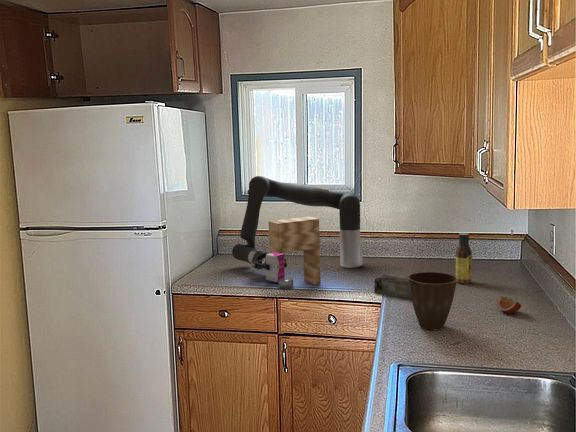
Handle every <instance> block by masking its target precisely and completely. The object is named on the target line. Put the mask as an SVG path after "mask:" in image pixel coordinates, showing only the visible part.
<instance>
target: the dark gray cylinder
mask: <svg viewBox="0 0 576 432" xmlns="http://www.w3.org/2000/svg"><path fill="white" fill-rule="evenodd" d="M278 288H279V289H282V290H288V289H289V290H290V289H293V288H294V279H293V278H290V277H285V278H282V279H279V282H278Z"/></svg>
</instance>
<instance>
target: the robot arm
mask: <svg viewBox="0 0 576 432" xmlns="http://www.w3.org/2000/svg"><path fill="white" fill-rule="evenodd" d="M265 197H270V198H279V199H282V200H284V201H287V202H290V203H293V204H297V205H302V206H308V207H326V208H331V209H336V210H339V245H340V246H339V247H340V248H339V251H340V253H339V254H340V257H339V258H340V261H339V262H340V267H342V268H347V269H351V268H358V267H361V266H363V245H362V244H361V202H360V199H359V197H358V196H357V195H356V194H355V193H351V192H338V191H331V190H327V189H325V188H322V187H321V188H320V187H317V186H312V185H307V184H303V183H295V182H282V181H279V180H275V179H274V180H273V179H271V178H267V177H265V176H261V175H256V176H254V177H252V178H251V179H250V181H249V183H248V198H247V204H246V209H245V214H244V217H243V220H242V225H241V230H240V235H239V237H240V238H241V239H242V240H244V241H246V244H242V243H237V244H235V245H234V246H233V247H232V250H231V253H232V256H233V258H234V259H235V260H239V261H242V262H246V263H248V264H250V265H252V268H254V269H255V270H265V271H266V270H270V265H268V264H266V254H270V253H268V252H266V251H264V250H262V249H256V235H257V231H258V227H259V226H258V225H259V220H260V212H261V207H262V203H263V200H264V198H265ZM287 266H288V262H287V259H286V258H284V268H288V267H287Z"/></svg>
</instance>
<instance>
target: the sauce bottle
mask: <svg viewBox="0 0 576 432" xmlns="http://www.w3.org/2000/svg"><path fill="white" fill-rule="evenodd" d="M469 239H470V233H466V232H465V233H464V232H461V233H458V246H457V248H456V250H455V277H456V278H457V282H456V284H457V283H458V284H462V285H463V284H464V285H465V284H466V285H467V284H471V282H472V279H473V278H472V276H473V275H472V273H473V272H472V271H473V270H472V268H473V267H472V266H473V265H472V264H473V261H472V260H473V253H472V250H471V247H470V242H469V241H470V240H469Z"/></svg>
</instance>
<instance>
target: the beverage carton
mask: <svg viewBox="0 0 576 432" xmlns="http://www.w3.org/2000/svg"><path fill="white" fill-rule="evenodd" d="M373 289H374V293H375V294H379V295H384V296H390V297H395V298H396V297H397V298H403V299H409V300H412V299H411V294H410V288H409V280H408V277H399V276H392V275H387V274H384V275H380V276H377V277H375V278H374V287H373Z"/></svg>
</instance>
